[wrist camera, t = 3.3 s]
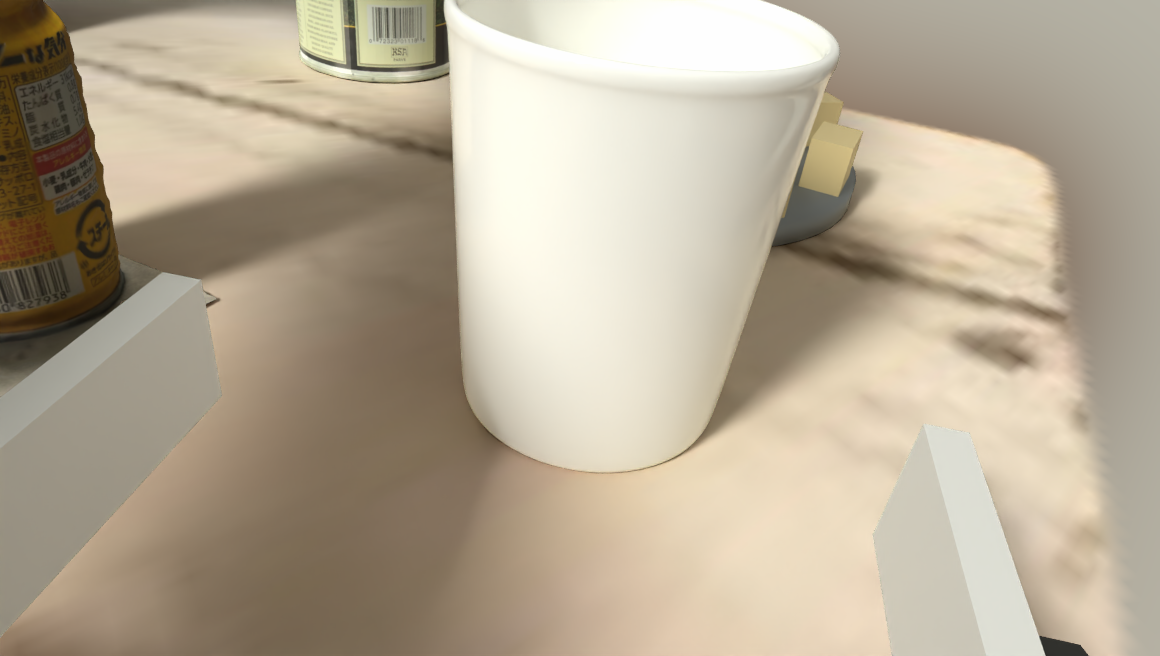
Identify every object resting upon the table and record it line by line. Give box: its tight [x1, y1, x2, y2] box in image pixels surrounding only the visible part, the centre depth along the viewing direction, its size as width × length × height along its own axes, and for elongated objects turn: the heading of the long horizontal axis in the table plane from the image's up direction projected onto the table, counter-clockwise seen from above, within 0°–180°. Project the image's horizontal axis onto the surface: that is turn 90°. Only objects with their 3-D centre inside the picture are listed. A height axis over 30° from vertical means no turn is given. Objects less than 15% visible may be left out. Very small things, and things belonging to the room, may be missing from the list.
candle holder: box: [444, 0, 840, 473], centre depth 23 cm, size 10×10×12 cm
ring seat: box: [772, 92, 863, 246], centre depth 43 cm, size 20×20×4 cm
